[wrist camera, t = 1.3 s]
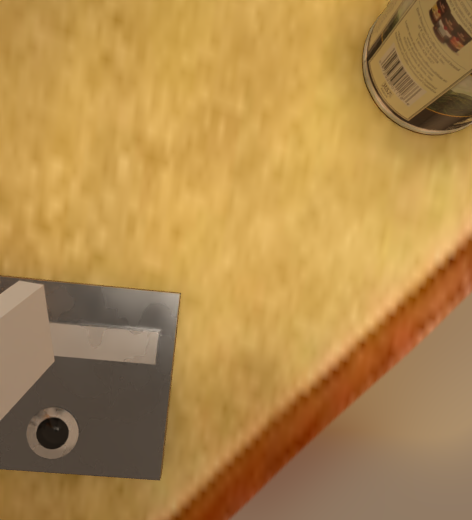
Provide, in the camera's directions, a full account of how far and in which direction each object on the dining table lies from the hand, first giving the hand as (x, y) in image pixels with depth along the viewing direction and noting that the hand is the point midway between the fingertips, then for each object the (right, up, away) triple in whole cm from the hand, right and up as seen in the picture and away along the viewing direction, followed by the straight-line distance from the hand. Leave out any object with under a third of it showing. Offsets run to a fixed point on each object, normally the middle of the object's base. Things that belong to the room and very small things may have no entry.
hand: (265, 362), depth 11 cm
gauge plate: (-17, -4, +16) cm, 23 cm away
